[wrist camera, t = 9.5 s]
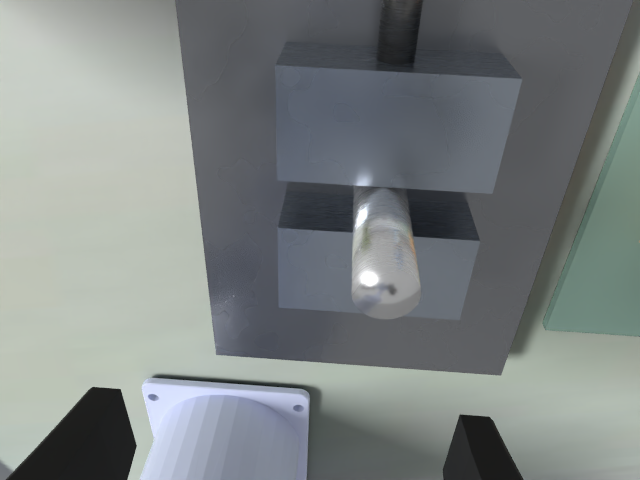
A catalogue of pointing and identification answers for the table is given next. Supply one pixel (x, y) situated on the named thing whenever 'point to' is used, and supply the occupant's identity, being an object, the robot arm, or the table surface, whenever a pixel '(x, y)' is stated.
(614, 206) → the mat
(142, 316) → the table surface
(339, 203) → the vise
